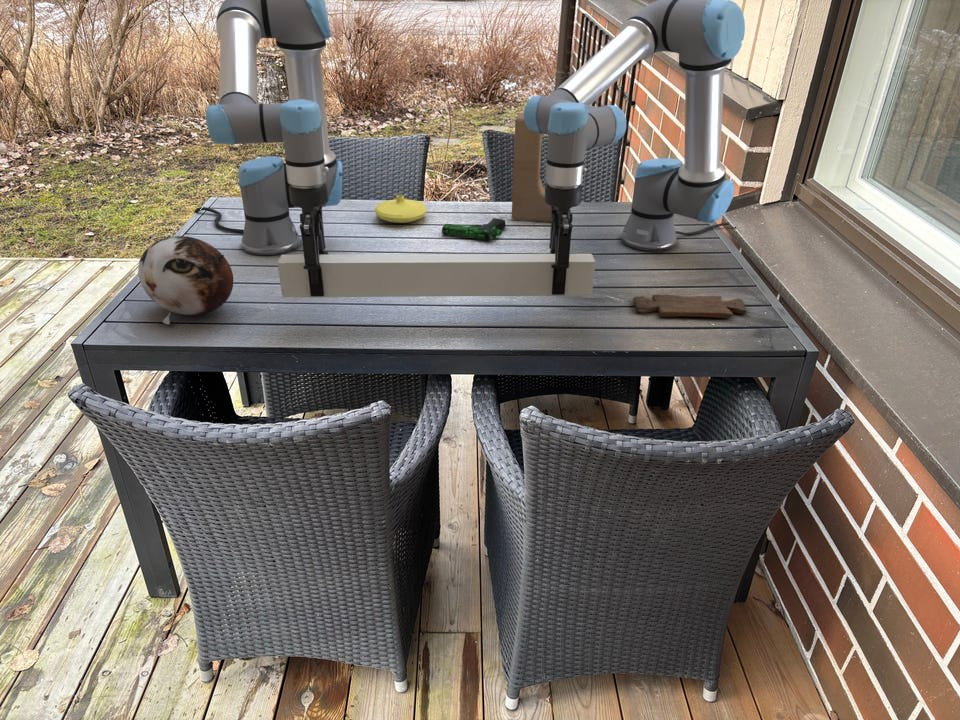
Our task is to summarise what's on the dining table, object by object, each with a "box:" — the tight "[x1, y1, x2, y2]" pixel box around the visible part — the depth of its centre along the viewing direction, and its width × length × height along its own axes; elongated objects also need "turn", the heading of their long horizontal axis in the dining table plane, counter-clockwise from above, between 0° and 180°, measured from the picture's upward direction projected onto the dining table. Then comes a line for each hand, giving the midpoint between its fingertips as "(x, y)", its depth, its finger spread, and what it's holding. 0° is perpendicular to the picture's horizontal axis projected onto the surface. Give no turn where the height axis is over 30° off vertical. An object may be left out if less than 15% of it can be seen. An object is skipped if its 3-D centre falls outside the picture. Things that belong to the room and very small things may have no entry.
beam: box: [277, 253, 596, 298], centre depth 154 cm, size 67×4×8 cm, turn 93°
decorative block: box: [511, 112, 552, 223], centre depth 211 cm, size 8×15×30 cm, turn 82°
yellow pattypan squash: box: [374, 194, 428, 224], centre depth 214 cm, size 16×16×7 cm
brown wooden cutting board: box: [632, 294, 747, 319], centre depth 166 cm, size 26×2×10 cm
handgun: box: [441, 217, 506, 242], centre depth 207 cm, size 16×3×15 cm
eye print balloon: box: [137, 235, 234, 326], centre depth 158 cm, size 22×18×20 cm
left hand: (319, 290), depth 154 cm, fingers closed on beam, 5 cm apart
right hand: (556, 288), depth 157 cm, fingers closed on beam, 5 cm apart
